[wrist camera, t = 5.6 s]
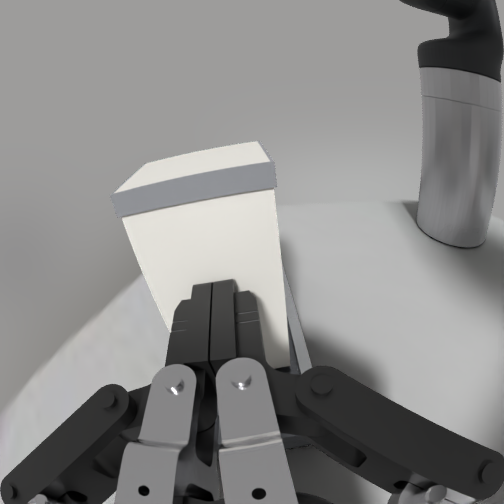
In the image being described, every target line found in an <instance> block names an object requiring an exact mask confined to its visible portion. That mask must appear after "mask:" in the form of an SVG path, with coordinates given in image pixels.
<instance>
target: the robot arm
mask: <svg viewBox="0 0 504 504" xmlns="http://www.w3.org/2000/svg"><path fill="white" fill-rule="evenodd" d="M400 1H401V2H403V3H405V4H408V5H410V6H412V7H415V8H418V9H421V10H425V11H429V12H432V13H436V14H440V15H443V16H446V17H448V20H449V33H450V34H449V36H448V37H447V38H442V39H434V40H429V41H425V42H423V43H421V44H420V45H419V46H418V61H419V68H420V80H421V94H422V112H423V113H422V114H423V146H422V169H421V183H420V192H419V202H418V210H417V218H416V220H417V224H418V225H419V227H420V228H421V229H422V230H423V231H424V232H425V233H426V234H428V235H429V236H431V237H433V238H434V239H436V240H439V241H441V242H443V243H446V244H449V245H453V246H458V247H475V246H479V245H480V244H482V243H483V242H484V241H485V238H486V234H487V230H488V226H489V222H490V217H491V213H492V208H493V203H494V198H495V193H496V187H497V180H498V173H499V164H500V154H501V141H502V90H501V75H500V69H501V64H502V60H503V52H504V49H503V39H502V32H501V26H500V21H499V16H498V11H497V6H496V2H495V0H400ZM217 400H218V410H219V415H218V413H217ZM219 419H220V428H221V437H222V444H221V446H220V448H219V464H220V472H221V479H222V486H223V493H224V499H220V500H219V496H220V480H219V475H218V472H217V449H218V433H219ZM280 433H285V434H292V435H300V436H301V437H302V438H304V439H305V440H306V441H308V442H309V443H311V444H312V445H313V446H315V447H316V448H318V449H319V450H321V451H322V452H323V453H325V454H326V455H328V456H329V457H331V458H332V459H334V460H335V461H337V462H338V463H340V464H342V465H343V466H345V467H346V468H348V469H349V470H351V471H353V472H354V473H356V474H358V475H359V476H361V477H363V478H364V479H366V480H368V481H369V482H371V483H373V484H375V485H377V486H378V487H380V488H382V489H384V490H386V491H387V492H389V493H391V494H392V495H391V497H390V498H389V500H388V503H387V504H474V503H475V502H478V501H481V500H483V499H486V498H489V497H490V496H492V495H493V494H495V493H496V492H497V491H498V490H499V488H500V487H501V485H502V484H503V481H504V457H503V456H502V455H501V454H500V453H498V452H496V451H494V450H492V449H489V448H487V447H485V446H482V445H480V444H478V443H475V442H473V441H471V440H469V439H467V438H465V437H462V436H460V435H458V434H456V433H454V432H452V431H450V430H448V429H446V428H444V427H441V426H439V425H437V424H435V423H433V422H431V421H429V420H427V419H425V418H424V417H422V416H420V415H418V414H416V413H414V412H412V411H410V410H408V409H406V408H404V407H403V406H401V405H399V404H397V403H395V402H393V401H391V400H390V399H388V398H386V397H384V396H382V395H381V394H379V393H377V392H375V391H373V390H372V389H370V388H368V387H366V386H365V385H363V384H361V383H359V382H358V381H356V380H354V379H352V378H351V377H349V376H347V375H346V374H344V373H342V372H341V371H339V370H337V369H335V368H333V367H329V366H317V367H313V368H310V369H308V370H306V371H305V372H304V373H302V374H301V375H298V374H288V373H283V372H280V371H277V370H275V369H274V368H272V367H271V366H270V365H269V364H268V363H267V361H266V357H265V350H264V343H263V336H262V329H261V323H260V317H259V312H258V306H257V301H256V298H255V297H254V296H253V294H252V293H251V292H250V291H249V290H248V291H241V292H237V291H236V287H235V283H234V279H228V280H222V281H215V282H209V283H202V284H196V285H193V287H192V293H191V299H187V300H181V302H180V303H179V305H178V306H177V308H176V309H175V311H174V316H173V323H172V327H171V333H170V338H169V344H168V350H167V356H166V363H165V367H164V368H162V369H161V370H160V371H159V372H158V373H157V374H156V375H155V376H154V378H153V381H152V384H150V385H148V386H145V387H142V388H139V389H136V390H133V391H129V392H127V391H126V390H125V389H124V388H123V387H122V386H120V385H117V384H109V385H106V386H104V387H102V388H100V389H99V390H98V391H97V392H96V393H95V394H94V395H93V396H91V397H90V398H89V399H88V400H87V401H86V402H85V403H84V404H83V405H82V406H81V407H80V408H79V409H77V410H76V411H75V412H74V413H73V414H72V415H71V416H70V417H69V418H68V419H67V420H66V421H65V422H63V423H62V424H61V425H60V426H59V427H58V428H57V429H56V430H55V431H54V432H53V433H52V434H51V435H50V436H48V437H47V438H46V439H45V440H44V441H43V442H42V443H41V444H40V445H39V446H38V447H37V448H36V449H35V450H33V451H32V452H31V453H30V454H29V455H28V456H27V457H26V458H25V459H24V460H23V461H22V462H21V463H20V464H18V465H17V466H16V467H15V468H14V469H13V470H12V471H11V472H10V473H9V474H8V475H7V476H6V477H5V478H4V479H3V480H2V483H1V487H0V492H1V497H2V500H3V502H4V504H102V503H103V502H104V501H106V500H107V499H108V498H109V497H110V496H111V495H112V494H113V493H114V492H115V491H116V496H115V503H114V504H333V503H331V502H329V501H327V500H325V499H323V498H320V497H317V496H314V495H310V494H306V493H299V492H295V489H294V485H293V481H292V477H291V473H290V469H289V466H288V462H287V458H286V453H285V449H284V445H283V442H282V438H281V435H280Z"/></svg>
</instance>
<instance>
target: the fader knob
mask: <svg viewBox="0 0 504 504" xmlns="http://www.w3.org/2000/svg"><path fill="white" fill-rule="evenodd" d="M274 187H277V182H276V173H275V165H274V161H273V160H272V158H271V157H270V155H269V153H268V152H267V151H266V149H265V148H264V146H263V145H262V144H261V142H260V141H252V142H246V143H239V144H233V145H228V146H222V147H216V148H211V149H206V150H201V151H196V152H192V153H186V154H182V155H177V156H173V157H169V158H164V159H160V160H156V161H152V162H149V163H145V164H144V165H143V166H141V167H140V168H139V169H138V170H137V171H136V172H134V173H133V174H132V175H131V176H130V177H129V178H128V179H127V180H126V181H124V182H123V183H122V184H121V185H120V186H119V187H118V188H117V189H116V190H115V191H114V192H113V193H112V194H111V195H110V197H111V200H112V203H113V206H114V209H115V212H116V215H117V217H122V220H123V223H124V226H125V229H126V231H127V234H128V237H129V240H130V242H131V245H132V247H133V250H134V253H135V255H136V258H137V260H138V263H139V265H140V268H141V270H142V272H143V275H144V277H145V279H146V282H147V284H148V286H149V289H150V291H151V293H152V295H153V298H154V300H155V302H156V304H157V306H158V309H159V311H160V313H161V315H162V317H163V319H164V321H165V323H166V325H167V327H168V329H169V331H170V333H171V327H172V323H173V316H174V311H175V309H176V308H177V306H178V305H179V303H180V302H181V300H187V299H191V293H192V287H193V285H196V284H202V283H209V282H215V281H222V280H228V279H234V283H235V287H236V291H237V292H241V291H248V290H249V291H250V292H251V293H252V294H253V296H254V297H255V298H256V301H257V306H258V312H259V317H260V323H261V329H262V336H263V343H264V350H265V357H266V361H267V363H268V364H269V365H270V366H271V367H272V368H274V369H275V368H281V367H286V366H290V352H289V339H288V327H287V314H286V303H285V292H284V281H283V270H282V260H281V250H280V241H279V231H278V222H277V213H276V204H275V197H274Z"/></svg>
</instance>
